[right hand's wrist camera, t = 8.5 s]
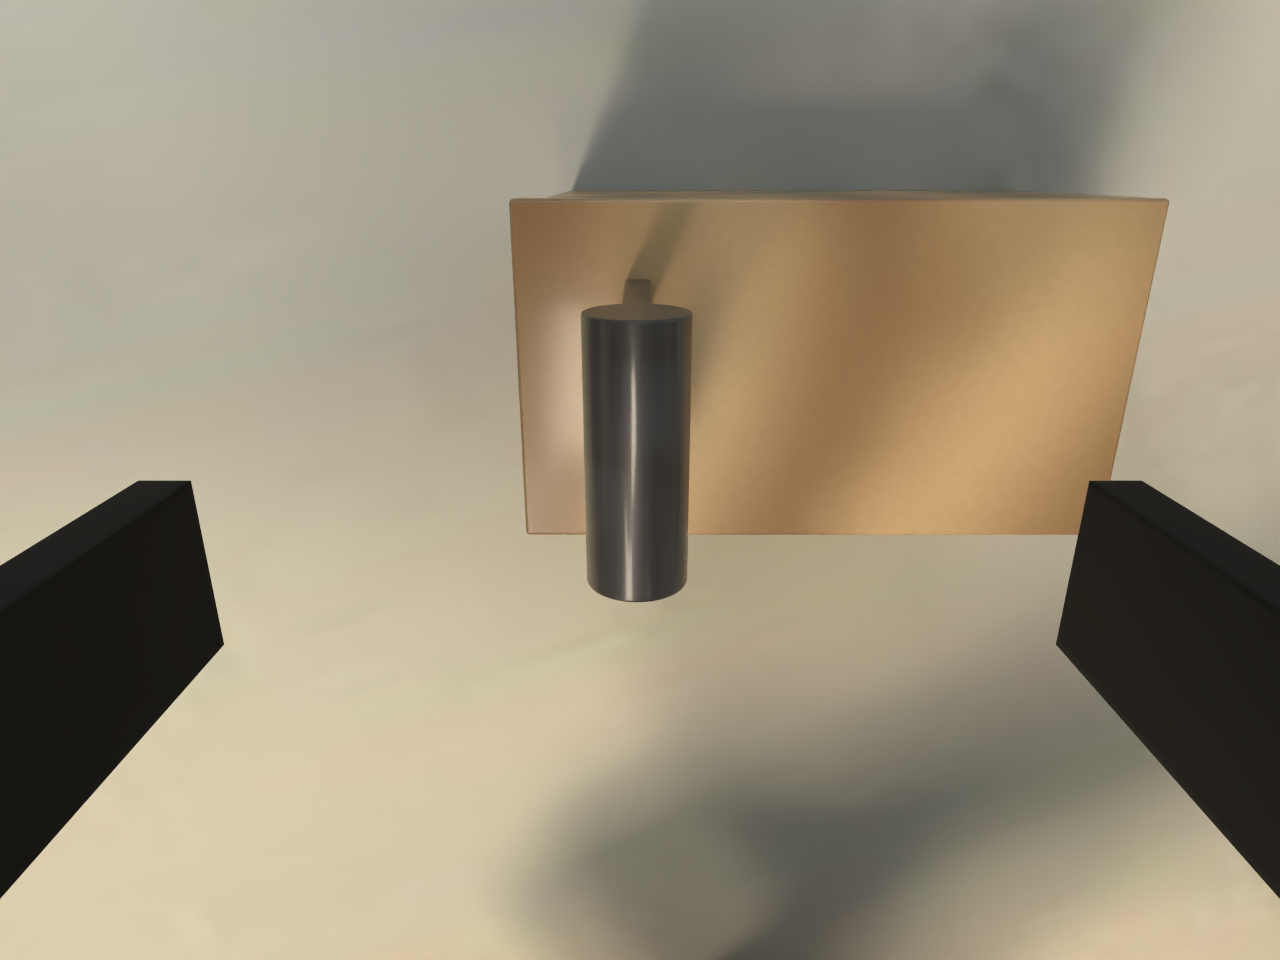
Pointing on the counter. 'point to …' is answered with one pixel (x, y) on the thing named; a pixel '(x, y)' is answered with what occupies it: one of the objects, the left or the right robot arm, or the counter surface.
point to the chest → (822, 194)
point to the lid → (819, 367)
